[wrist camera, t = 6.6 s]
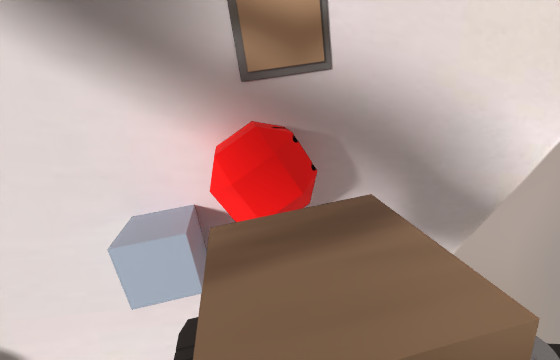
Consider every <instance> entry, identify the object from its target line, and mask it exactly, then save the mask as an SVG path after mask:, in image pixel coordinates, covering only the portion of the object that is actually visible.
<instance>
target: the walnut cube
mask: <svg viewBox="0 0 560 360" xmlns="http://www.w3.org/2000/svg"><path fill="white" fill-rule="evenodd" d="M538 323H539V318H538V317H537V316H535V315H534V314H533V313H531V312H530V311H529V310H527V309H526V308H525V307H523V306H522V305H520V304H519V303H518V302H516V301H515V300H514V299H512V298H511V297H510V296H508V295H507V294H506V293H504V292H503V291H502V290H500V289H499V288H497V287H496V286H495V285H493V284H492V283H491V282H489V281H488V280H487V279H485V278H484V277H483V276H481V275H480V274H478V273H477V272H476V271H474V270H473V269H472V268H470V267H469V266H468V265H466V264H465V263H464V262H462V261H461V260H460V259H458V258H457V257H456V256H454V255H453V254H451V253H450V252H449V251H447V250H446V249H445V248H443V247H442V246H441V245H439V244H438V243H437V242H435V241H434V240H432V239H431V238H430V237H428V236H427V235H426V234H424V233H423V232H422V231H420V230H419V229H418V228H416V227H415V226H414V225H412V224H411V223H409V222H408V221H407V220H405V219H404V218H403V217H401V216H400V215H399V214H397V213H396V212H395V211H393V210H392V209H390V208H389V207H388V206H386V205H385V204H384V203H382V202H381V201H380V200H378V199H377V198H376V197H374V196H373V195H372V194H370V195H365V196H360V197H356V198H351V199H346V200H341V201H336V202H331V203H327V204H322V205H317V206H312V207H307V208H303V209H298V210H293V211H288V212H283V213H278V214H274V215H269V216H264V217H259V218H254V219H250V220H245V221H240V222H235V223H230V224H225V225H221V226H216V227H211V228H210V231H209V239H208V247H207V255H206V262H205V270H204V278H203V286H202V293H201V301H200V309H199V317H198V325H197V332H196V340H195V348H194V356H193V360H530V359H531V354H532V350H533V345H534V341H535V337H536V332H537V328H538Z"/></svg>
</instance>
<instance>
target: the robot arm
mask: <svg viewBox="0 0 560 360" xmlns="http://www.w3.org/2000/svg"><path fill="white" fill-rule="evenodd" d="M197 325H198V317H196V318H192V319H188V320H187V322H186V323H185V325H184V327H183V328H182V330H181V332H180V333H179V336H178V341H177V346H176V353H175V356H174V360H193V356H194V348H195V340H196V332H197ZM530 360H560V344H547V343H545V342H544V341H543V340H541V339H540V338H538V337H537V336H536V337H535V341H534V345H533V350H532V354H531V359H530Z"/></svg>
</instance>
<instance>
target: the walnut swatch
mask: <svg viewBox="0 0 560 360" xmlns="http://www.w3.org/2000/svg"><path fill="white" fill-rule="evenodd" d="M227 1H228V7H229V13H230V19H231V24H232V30H233V36H234V41H235V47H236V53H237V58H238V64H239V70H240V75H241V81H248V80H255V79H262V78H269V77H276V76H283V75H289V74H296V73H303V72H310V71H317V70H324V69H330V68H331V58H330V45H329V31H328V17H327V3H326V0H227Z"/></svg>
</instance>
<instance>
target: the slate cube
mask: <svg viewBox="0 0 560 360" xmlns="http://www.w3.org/2000/svg"><path fill="white" fill-rule="evenodd" d="M108 252H109V255H110V257H111V260H112V262H113V265H114V267H115V270H116V272H117V275H118V277H119V279H120V282H121V284H122V287H123V289H124V292H125V294H126V297H127V299H128V302H129V304H130V307H131V309H132V310H133V309H137V308H141V307H145V306H150V305H154V304H158V303H163V302H167V301H171V300H175V299H180V298H184V297H188V296H193V295H197V294H201V293H202V286H203V278H204V270H205V262H206V255H207V251H206V247H205V243H204V240H203V236H202V232H201V228H200V224H199V221H198V217H197V213H196V209H195V206H194V205H190V206H185V207H180V208H175V209H169V210H164V211H159V212H154V213H149V214H144V215H138V216H133V217H131V219H130V220H129V221H128V223H127V224H126V225H125V227H124V228H123V229H122V231H121V232H120V233H119V235H118V236H117V238H116V239H115V240H114V242H113V243H112V244H111V246H110V247H109V248H108Z"/></svg>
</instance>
